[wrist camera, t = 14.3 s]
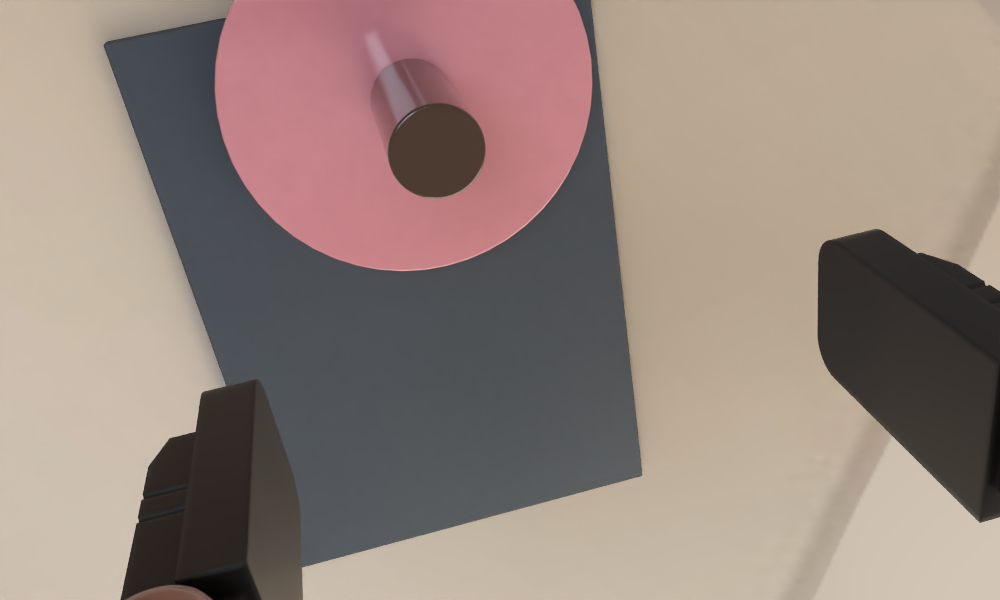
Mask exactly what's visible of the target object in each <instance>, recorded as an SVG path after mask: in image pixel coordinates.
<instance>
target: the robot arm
mask: <svg viewBox="0 0 1000 600" xmlns="http://www.w3.org/2000/svg"><path fill="white" fill-rule="evenodd" d="M818 343H819V348H820V352H821V355H822V358H823V361H824V363H825V365H826V367H827V369H828V371H829V372H830V373H831V375H832V376H833V377H834V378H835V379H836V380H837V381H838V382H839V383H840V384H841V385H842V386H843V387H844V388H845V389H846V390H847V391H848V392H849V393H850V394H851V395H852V396H853V397H854V398H855V399H856V400H857V401H858V402H859V403H860V404H861V405H862V406H863V407H864V408H865V409H866V410H867V411H868V412H869V413H870V414H871V415H872V416H873V417H874V418H875V419H876V420H877V421H878V422H879V423H880V424H881V425H882V426H883V427H884V428H885V429H886V430H887V431H888V432H889V433H890V434H891V435H892V436H893V437H894V438H895V439H896V440H897V441H898V442H899V443H900V444H901V445H902V446H903V447H904V448H905V449H906V450H907V451H908V452H909V453H910V454H911V455H912V456H913V457H914V458H915V459H916V460H917V461H918V462H919V463H920V464H921V465H922V466H923V467H924V468H925V469H926V470H927V471H928V472H930V474H932V476H933V477H934V478H935V479H936V480H937V481H938V482H939V483H940V484H941V485H942V486H943V487H944V488H946V490H947V491H949V492H950V493H951V495H953V497H955V499H957V500H958V501H959V502H960V503H961V504H962V505H963V506H964V507H965V508H966V509H967V510H968V511H969V512H970V513H971V514H972V515H973V516H974V517H975V518H976V519H977V520H978V521H979V522H980V523H981V522H984V521H988V520H991V519H995V518H998V517H1000V291H998V290H997V289H995V288H994V287H992V286H990V285H988V286H986V285H985V283H984V281H983V280H981V279H980V278H978V277H976V276H975V275H973V274H972V273H970V272H969V271H967V270H966V269H964V268H962V267H961V266H959V265H958V264H955V263H952V262H948V261H945V260H942V259H939V258H936V257H933V256H930V255H926V254H923V253H918V254H917V253H915V252H914V251H912V250H911V249H909V248H908V247H906V246H905V245H903V244H902V243H900V242H899V241H897V240H896V239H894V238H893V237H891V236H890V235H888V234H887V233H885V232H884V231H882V230H879V229H873V230H869V231H865V232H861V233H857V234H853V235H849V236H845V237H841V238H837V239H833V240H828V241H826V242H825V243H824V244H823V245H822V247H821V249H820V252H819V260H818ZM143 497H144V499H143V500H141V505H140V510H139V515H138V519H139V523H137V524H136V529H135V534H134V539H133V543H132V548H131V553H130V558H129V562H128V567H127V572H126V577H125V581H124V586H123V591H122V596H121V600H303V591H302V553H301V517H300V506H299V499H298V493H297V489H296V484H295V480H294V476H293V473H292V469H291V466H290V463H289V460H288V457H287V455H286V452H285V449H284V446H283V443H282V440H281V437H280V434H279V431H278V428H277V425H276V422H275V419H274V416H273V413H272V410H271V407H270V404H269V401H268V398H267V396H266V393H265V390H264V388H263V386H262V384H261V382H260V380H259V379H254V380H250V381H246V382H242V383H238V384H234V385H230V386H226V387H222V388H218V389H213V390H209V391H205V392H203V393H202V395H201V399H200V406H199V413H198V420H197V427H196V432H193V433H189V434H185V435H181V436H177V437H173V438H170V439H169V440H168V441H167V443H166V444H165V445H164V447H163V448H162V449H161V451H160V452H159V453H158V455H157V456H156V457H155V459H154V460H153V461H152V463H151V464H150V465H149V467H148V472H147V477H146V481H145V486H144V491H143Z"/></svg>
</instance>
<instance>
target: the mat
mask: <svg viewBox="0 0 1000 600" xmlns="http://www.w3.org/2000/svg"><path fill="white" fill-rule="evenodd" d="M574 1H575V4H576V6H577V8H578V10H579V12H580V15H581V18H582V21H583V25H584V28H585V31H586V34H587V38H588V44H589V49H590V55H591V62H592V83H593V84H592V97H591V108H590V113H589V118H588V123H587V128H586V132H585V135H584V138H583V141H582V144H581V147H580V150H579V153H578V155H577V157H576V159H575V161H574V163H573V165H572V167H571V169H570V171H569V173H568V175H567V177H566V178H565V180H564V181H563V183H562V184H561V186H560V188H559V189H558V191H557V192H556V194H555V195H554V196H553V197H552V198H551V200H550V201H549V202H548V203H547V204H546V206H545V207H544V208H543V209H542V210H541V211H540V212H539V213H538V214H537V215H536V216H535V217H534V218H533V219H532V220H531V221H530V222H529V223H528V224H527V225H526V226H525V227H523V228H522V229H521V230H519V231H518V232H517V233H515V234H514V235H513V236H511V237H510V238H509V239H507V240H506V241H504V242H502V243H500V244H499V245H497V246H495V247H494V248H492V249H490V250H488V251H486V252H484V253H482V254H479V255H477V256H475V257H472V258H470V259H468V260H464V261H461V262H458V263H454V264H451V265H448V266H443V267H437V268H432V269H426V270H412V271H393V270H379V269H373V268H368V267H363V266H357V265H354V264H351V263H347V262H344V261H341V260H338V259H335V258H332V257H330V256H328V255H326V254H324V253H322V252H319V251H317V250H315V249H313V248H311V247H310V246H308V245H307V244H305V243H303V242H302V241H300V240H298V239H297V238H295V237H294V236H292V235H291V234H290V233H289V232H287V231H286V230H285V229H284V228H282V227H281V226H280V225H279V224H277V223H276V222H275V221H274V220H273V219H272V218H271V217H270V216H269V215H268V214H267V213H266V212H265V211H264V210H263V208H262V207H261V206H260V205H259V204H258V203H257V202H256V200H255V199H254V198H253V196H252V195H251V194H250V192H249V191H248V189H247V188H246V187H245V185H244V184H243V182H242V180H241V178H240V177H239V175H238V173H237V171H236V169H235V168H234V166H233V164H232V162H231V159H230V157H229V154H228V151H227V149H226V146H225V144H224V141H223V138H222V134H221V130H220V126H219V122H218V117H217V111H216V101H215V92H214V83H215V62H216V56H217V50H218V44H219V39H220V35H221V32H222V29H223V26H224V23H225V20H226V18H222V19H217V20H212V21H207V22H202V23H197V24H192V25H187V26H182V27H177V28H172V29H167V30H163V31H158V32H153V33H148V34H143V35H138V36H133V37H128V38H123V39H118V40H113V41H108V42H106V43H105V44H104V48H105V51H106V54H107V56H108V59H109V62H110V65H111V67H112V70H113V73H114V76H115V79H116V81H117V84H118V87H119V90H120V92H121V95H122V98H123V101H124V103H125V106H126V109H127V112H128V115H129V117H130V120H131V123H132V126H133V128H134V131H135V134H136V137H137V139H138V142H139V145H140V148H141V151H142V153H143V156H144V159H145V162H146V164H147V167H148V170H149V173H150V175H151V178H152V181H153V184H154V187H155V189H156V192H157V195H158V198H159V200H160V203H161V206H162V209H163V211H164V214H165V217H166V220H167V223H168V225H169V228H170V231H171V234H172V236H173V239H174V242H175V245H176V247H177V250H178V253H179V256H180V259H181V261H182V264H183V267H184V270H185V272H186V275H187V278H188V281H189V283H190V286H191V289H192V292H193V295H194V297H195V300H196V303H197V306H198V308H199V311H200V314H201V317H202V319H203V322H204V325H205V328H206V331H207V333H208V336H209V339H210V342H211V344H212V347H213V350H214V353H215V355H216V358H217V361H218V364H219V367H220V369H221V372H222V375H223V378H224V380H225V383H226V386H230V385H234V384H238V383H242V382H246V381H250V380H254V379H259V380H260V382H261V384H262V386H263V388H264V390H265V393H266V396H267V398H268V401H269V404H270V407H271V410H272V413H273V416H274V419H275V422H276V425H277V428H278V431H279V434H280V437H281V440H282V443H283V446H284V449H285V452H286V455H287V457H288V460H289V463H290V466H291V469H292V473H293V476H294V480H295V484H296V489H297V493H298V499H299V506H300V517H301V553H302V567H305V566H309V565H313V564H317V563H320V562H324V561H328V560H331V559H335V558H339V557H343V556H346V555H350V554H354V553H357V552H361V551H365V550H368V549H372V548H376V547H380V546H383V545H387V544H391V543H394V542H398V541H402V540H406V539H409V538H413V537H417V536H420V535H424V534H428V533H432V532H435V531H439V530H443V529H446V528H450V527H454V526H458V525H461V524H465V523H469V522H472V521H476V520H480V519H483V518H487V517H491V516H495V515H498V514H502V513H506V512H509V511H513V510H517V509H521V508H524V507H528V506H532V505H535V504H539V503H543V502H547V501H550V500H554V499H558V498H561V497H565V496H569V495H573V494H576V493H580V492H584V491H587V490H591V489H595V488H598V487H602V486H606V485H610V484H613V483H617V482H621V481H624V480H628V479H632V478H636V477H639V476H642V468H641V459H640V450H639V440H638V431H637V422H636V413H635V404H634V395H633V385H632V376H631V367H630V358H629V349H628V340H627V330H626V321H625V312H624V303H623V294H622V285H621V275H620V266H619V257H618V248H617V239H616V230H615V220H614V211H613V202H612V193H611V184H610V175H609V165H608V156H607V147H606V138H605V129H604V120H603V110H602V101H601V92H600V83H599V74H598V65H597V55H596V46H595V37H594V28H593V19H592V10H591V0H574Z"/></svg>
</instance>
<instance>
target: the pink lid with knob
mask: <svg viewBox="0 0 1000 600" xmlns="http://www.w3.org/2000/svg"><path fill="white" fill-rule="evenodd" d="M592 84H593V83H592V62H591V55H590V49H589V44H588V38H587V34H586V31H585V28H584V25H583V21H582V18H581V15H580V12H579V10H578V8H577V6H576V4H575V1H574V0H233V2H232V4H231V6H230V8H229V10H228V13H227V16H226V20H225V23H224V26H223V29H222V32H221V35H220V39H219V44H218V50H217V56H216V62H215V83H214V92H215V101H216V111H217V117H218V122H219V126H220V130H221V134H222V138H223V141H224V144H225V146H226V149H227V151H228V154H229V157H230V159H231V162H232V164H233V166H234V168H235V169H236V171H237V173H238V175H239V177H240V178H241V180H242V182H243V184H244V185H245V187H246V188H247V189H248V191H249V192H250V194H251V195H252V196H253V198H254V199H255V200H256V202H257V203H258V204H259V205H260V206H261V207H262V208H263V210H264V211H265V212H266V213H267V214H268V215H269V216H270V217H271V218H272V219H273V220H274V221H275V222H276V223H277V224H279V225H280V226H281V227H282V228H284V229H285V230H286V231H287V232H289V233H290V234H291V235H292V236H294V237H295V238H297V239H298V240H300V241H302V242H303V243H305V244H307V245H308V246H310V247H311V248H313V249H315V250H317V251H319V252H322V253H324V254H326V255H328V256H330V257H332V258H335V259H338V260H341V261H344V262H347V263H351V264H354V265H357V266H363V267H368V268H373V269H379V270H393V271H412V270H426V269H432V268H437V267H443V266H448V265H451V264H454V263H458V262H461V261H464V260H468V259H470V258H472V257H475V256H477V255H479V254H482V253H484V252H486V251H488V250H490V249H492V248H494V247H495V246H497V245H499V244H500V243H502V242H504V241H506V240H507V239H509V238H510V237H511V236H513V235H514V234H515V233H517V232H518V231H519V230H521V229H522V228H523V227H525V226H526V225H527V224H528V223H529V222H530V221H531V220H532V219H533V218H534V217H535V216H536V215H537V214H538V213H539V212H540V211H541V210H542V209H543V208H544V207H545V206H546V204H547V203H548V202H549V201H550V200H551V198H552V197H553V196H554V195H555V194H556V192H557V191H558V189H559V188H560V186H561V184H562V183H563V181H564V180H565V178H566V177H567V175H568V173H569V171H570V169H571V167H572V165H573V163H574V161H575V159H576V157H577V155H578V153H579V150H580V147H581V144H582V141H583V138H584V135H585V132H586V128H587V123H588V118H589V113H590V108H591V97H592Z"/></svg>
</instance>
